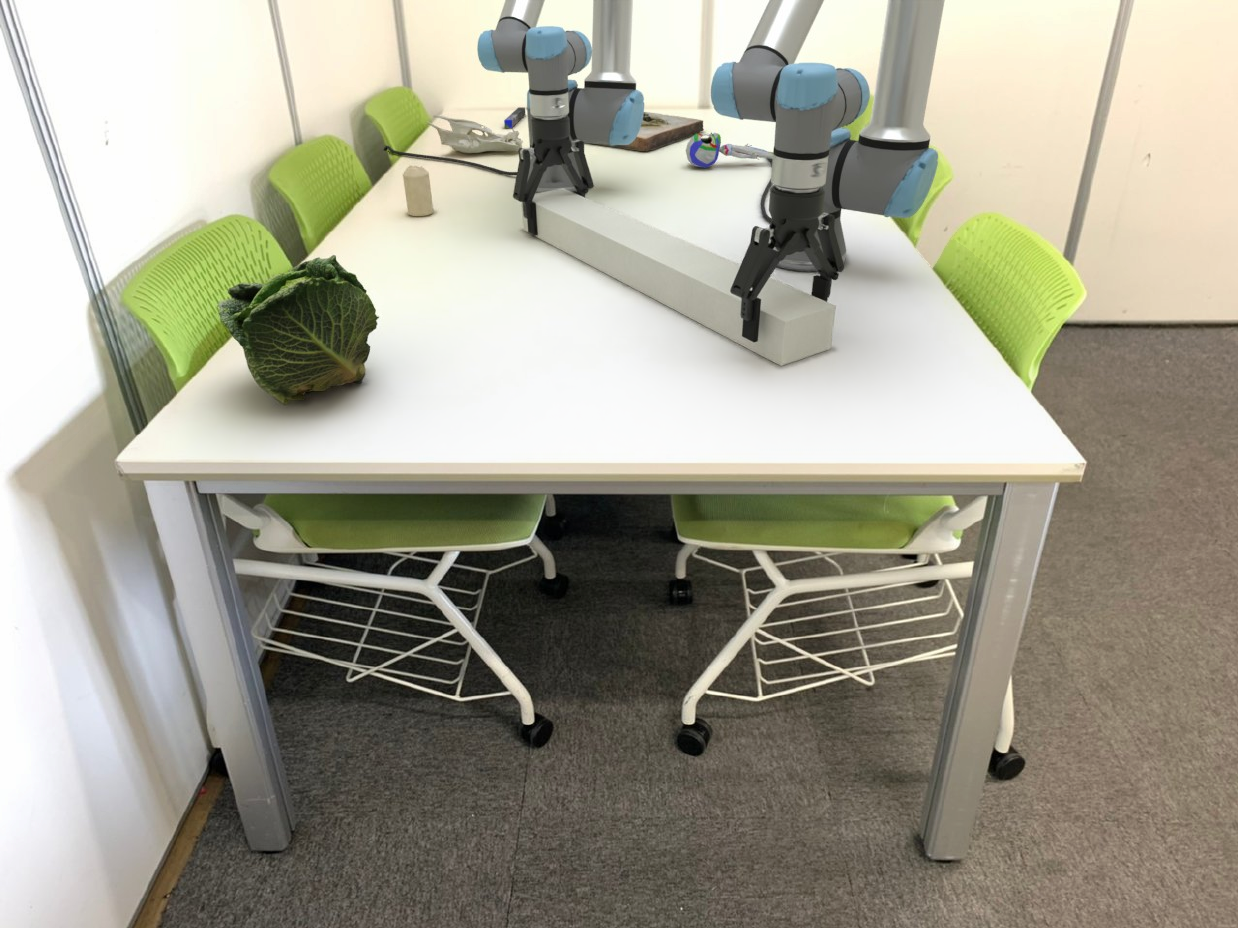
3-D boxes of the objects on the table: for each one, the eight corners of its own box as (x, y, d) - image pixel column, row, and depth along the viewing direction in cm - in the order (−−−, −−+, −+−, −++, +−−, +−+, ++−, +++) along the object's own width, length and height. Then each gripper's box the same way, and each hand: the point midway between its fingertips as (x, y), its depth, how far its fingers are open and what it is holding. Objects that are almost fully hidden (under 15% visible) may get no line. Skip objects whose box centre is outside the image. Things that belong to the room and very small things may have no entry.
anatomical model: (438, 112, 249) (525, 110, 245) (443, 146, 254) (528, 145, 250) (420, 123, 236) (511, 122, 233) (426, 159, 241) (515, 158, 238)
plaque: (647, 125, 237) (559, 112, 252) (647, 153, 241) (560, 139, 256) (706, 107, 258) (622, 97, 273) (705, 133, 262) (622, 121, 277)
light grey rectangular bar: (523, 230, 187) (520, 196, 183) (565, 221, 192) (563, 188, 188) (780, 366, 131) (784, 321, 127) (830, 349, 136) (836, 305, 132)
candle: (438, 210, 199) (432, 164, 194) (425, 217, 195) (419, 170, 189) (416, 208, 201) (410, 162, 195) (403, 215, 196) (396, 168, 191)
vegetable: (300, 411, 136) (210, 300, 128) (407, 340, 137) (324, 225, 129) (292, 446, 117) (186, 319, 110) (414, 364, 119) (318, 232, 111)
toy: (810, 148, 223) (693, 134, 219) (802, 182, 228) (688, 169, 223) (799, 138, 232) (687, 125, 227) (792, 172, 236) (681, 159, 232)
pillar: (525, 107, 285) (511, 120, 268) (525, 114, 286) (511, 128, 269) (518, 107, 285) (503, 120, 268) (518, 114, 286) (504, 128, 270)
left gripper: (506, 127, 166) (515, 244, 177) (609, 111, 176) (611, 223, 188) (488, 120, 171) (498, 234, 183) (589, 105, 181) (592, 214, 193)
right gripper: (746, 206, 116) (736, 356, 127) (881, 178, 127) (860, 318, 138) (710, 194, 121) (703, 339, 132) (842, 168, 133) (826, 303, 144)
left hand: (555, 228), depth 185 cm, fingers closed on light grey rectangular bar, 10 cm apart
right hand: (784, 328), depth 135 cm, fingers open, 13 cm apart
